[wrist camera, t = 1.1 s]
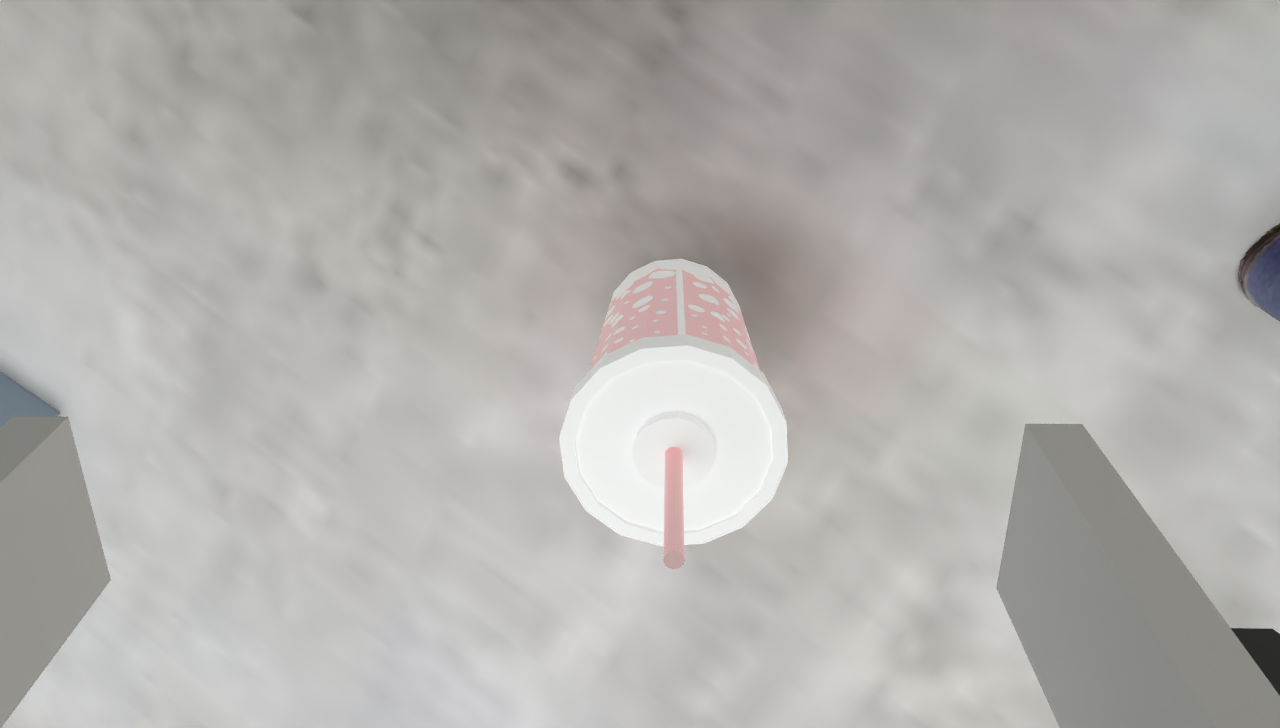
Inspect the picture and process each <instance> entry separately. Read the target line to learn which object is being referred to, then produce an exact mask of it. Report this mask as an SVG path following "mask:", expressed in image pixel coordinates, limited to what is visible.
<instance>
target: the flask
mask: <svg viewBox="0 0 1280 728" xmlns="http://www.w3.org/2000/svg"><path fill="white" fill-rule="evenodd" d="M1246 254H1247V255H1246V257H1245V258H1243V259H1242V260H1241V261H1240V270H1239V273H1238V274H1239V281H1240V283H1241V285H1242V280H1243V286H1242V288H1243V292H1244V294H1245V295H1246V297H1247V298H1248V299H1249V300H1250V301H1251V302H1252V303H1253V304H1254V305H1255V306H1257V307H1259V308H1261V309H1262V310H1264V311H1265V312H1266V313H1268V314H1269V315H1271V316H1272V317H1274V318H1275V319H1277V320H1279V321H1280V224H1279V226H1275V227H1274V228H1273V229H1271V231H1268V232H1267V234H1266V236H1263V237H1262V238H1261V240H1260V241H1259V242H1258V243H1257V244H1256V245H1254V246H1253V248H1252V249H1251V248H1250V251H1248V252H1247V253H1246Z"/></svg>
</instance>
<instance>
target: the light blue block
mask: <svg viewBox="0 0 1280 728" xmlns="http://www.w3.org/2000/svg"><path fill="white" fill-rule="evenodd" d="M59 413H60V412H59V411H57V410H56V409H54V408H53V407H51V406H50V405H48V404H47V403H45V402H44V401H42V400H41V399H39V398H38V397H37V396H35V395H34V394H32V393H31V392H29V391H28V390H26V389H25V388H23V387H22V386H20V385H19V384H17V383H16V382H14V381H13V380H11V379H10V378H8V377H7V376H6V375H4V374H3V373H1V372H0V428H1V427H2V426H3V425H4V424H5V423H6V422H7V421H8V420H10V419H11V418H12V417H57V416H58V414H59Z"/></svg>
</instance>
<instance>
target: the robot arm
mask: <svg viewBox="0 0 1280 728" xmlns="http://www.w3.org/2000/svg"><path fill="white" fill-rule="evenodd" d="M110 580H111V579H110V575H109V571H108V568H107V564H106V560H105V556H104V552H103V549H102V545H101V541H100V537H99V533H98V530H97V526H96V522H95V518H94V514H93V510H92V507H91V503H90V499H89V495H88V491H87V488H86V484H85V480H84V476H83V472H82V469H81V465H80V461H79V457H78V453H77V450H76V446H75V442H74V438H73V434H72V431H71V427H70V423H69V419H68V417H12V418H11V419H10V420H8V421H7V422H6V423H5V424H4V425H3V426H2V427H1V428H0V728H1V727H2V726H3V725H4V723H5V722H6V720H7V719H8V718H9V716H10V715H11V714H12V712H13V711H14V710H15V708H16V707H17V706H18V704H19V703H20V702H21V700H22V699H23V698H24V696H25V695H26V693H27V692H28V691H29V689H30V688H31V687H32V685H33V684H34V683H35V681H36V680H37V679H38V677H39V676H40V675H41V673H42V672H43V671H44V669H45V668H46V666H47V665H48V664H49V662H50V661H51V660H52V658H53V657H54V656H55V654H56V653H57V652H58V650H59V649H60V648H61V646H62V645H63V644H64V642H65V641H66V640H67V638H68V637H69V635H70V634H71V633H72V631H73V630H74V629H75V627H76V626H77V625H78V623H79V622H80V621H81V619H82V618H83V617H84V615H85V614H86V613H87V611H88V610H89V608H90V607H91V606H92V604H93V603H94V602H95V600H96V599H97V598H98V596H99V595H100V594H101V592H102V591H103V590H104V588H105V587H106V586H107V584H108V583H109V581H110ZM997 590H998V592H999V595H1000V597H1001V599H1002V601H1003V603H1004V606H1005V608H1006V610H1007V612H1008V614H1009V617H1010V619H1011V621H1012V623H1013V625H1014V628H1015V630H1016V632H1017V634H1018V636H1019V639H1020V641H1021V643H1022V645H1023V648H1024V650H1025V652H1026V654H1027V656H1028V659H1029V661H1030V663H1031V665H1032V667H1033V670H1034V672H1035V674H1036V676H1037V678H1038V681H1039V683H1040V685H1041V687H1042V689H1043V692H1044V694H1045V696H1046V698H1047V700H1048V703H1049V705H1050V707H1051V709H1052V712H1053V714H1054V716H1055V718H1056V720H1057V723H1058V725H1059V727H1060V728H1280V634H1279V633H1277V632H1276V631H1275V630H1273V629H1245V628H1230V627H1229V625H1228V624H1227V623H1226V621H1225V620H1224V619H1223V617H1222V616H1221V614H1220V613H1219V612H1218V610H1217V609H1216V608H1215V606H1214V605H1213V603H1212V602H1211V601H1210V599H1209V598H1208V597H1207V595H1206V594H1205V592H1204V591H1203V590H1202V588H1201V587H1200V586H1199V584H1198V583H1197V581H1196V580H1195V579H1194V577H1193V576H1192V575H1191V573H1190V572H1189V570H1188V569H1187V568H1186V566H1185V565H1184V564H1183V562H1182V561H1181V559H1180V558H1179V557H1178V555H1177V554H1176V553H1175V551H1174V550H1173V548H1172V547H1171V546H1170V544H1169V543H1168V542H1167V540H1166V539H1165V537H1164V536H1163V535H1162V533H1161V532H1160V531H1159V529H1158V528H1157V526H1156V525H1155V524H1154V522H1153V521H1152V520H1151V518H1150V517H1149V515H1148V514H1147V513H1146V511H1145V510H1144V509H1143V507H1142V506H1141V504H1140V503H1139V502H1138V500H1137V499H1136V498H1135V496H1134V495H1133V493H1132V492H1131V491H1130V489H1129V488H1128V487H1127V485H1126V484H1125V482H1124V481H1123V480H1122V478H1121V477H1120V476H1119V474H1118V473H1117V471H1116V470H1115V469H1114V467H1113V466H1112V465H1111V463H1110V462H1109V460H1108V459H1107V458H1106V456H1105V455H1104V454H1103V452H1102V451H1101V449H1100V448H1099V447H1098V445H1097V444H1096V443H1095V441H1094V440H1093V438H1092V437H1091V436H1090V434H1089V433H1088V432H1087V430H1086V429H1085V427H1084V426H1083V425H1082V424H1025V430H1024V436H1023V441H1022V447H1021V453H1020V458H1019V464H1018V470H1017V475H1016V481H1015V486H1014V492H1013V498H1012V503H1011V509H1010V515H1009V520H1008V526H1007V532H1006V537H1005V543H1004V548H1003V554H1002V560H1001V565H1000V571H999V577H998V582H997Z"/></svg>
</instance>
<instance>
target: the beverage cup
mask: <svg viewBox="0 0 1280 728" xmlns="http://www.w3.org/2000/svg"><path fill="white" fill-rule="evenodd" d="M559 441H560V448H561V455H562V463H563V470H564V477H565V479H566V480H567V482H568V483H569V485H570V487H571V488H572V490H573V491H574V493H575V494H576V496H577V498H578V499H579V501H580V502H581V504H582V505H583V507H584V509H585V510H586V511H587V512H588V513H590V514H591V515H592V516H594V517H595V518H597V519H598V520H599V521H601V522H602V523H604V524H605V525H606V526H608V527H609V528H611V529H612V530H613V531H615V532H616V533H618V534H619V535H622V536H625V537H629V538H633V539H636V540H640V541H643V542H647V543H651V544H654V545H658V546H664V563H665V565H666V566H667V567H669V568H672V569H677V568H679V567H681V566H682V565H683V564H684V561H685V558H684V545H690V544H704V543H707V542H709V541H711V540H714V539H716V538H718V537H721V536H723V535H726V534H728V533H730V532H733V531H735V530H737V529H740V528H742V527H744V526H745V525H746V524H747V523H748V522H749V521H750V520H751V519H752V518H753V517H754V516H755V515H756V514H757V513H758V512H759V511H760V510H761V509H762V508H763V507H765V506H766V505H767V504H768V503H769V502H770V501H771V500H772V499H773V497H774V494H775V492H776V489H777V487H778V485H779V482H780V480H781V478H782V475H783V473H784V471H785V468H786V466H787V463H788V450H787V425H786V418H785V416H784V414H783V410H782V407H781V405H780V404H779V402H778V400H777V398H776V396H775V394H774V392H773V390H772V388H771V386H770V385H769V383H768V381H767V379H766V377H765V375H764V373H762V372H761V371H760V368H759V365H758V362H757V359H756V356H755V353H754V350H753V347H752V344H751V341H750V337H749V334H748V331H747V328H746V325H745V322H744V319H743V316H742V313H741V310H740V307H739V304H738V302H737V300H736V299H735V297H734V295H733V293H732V291H731V289H730V287H729V285H728V283H727V282H726V281H724V280H723V279H722V278H721V277H719V276H718V275H717V274H716V273H715V272H713V271H712V270H711V269H710V268H708V267H707V266H704V265H701V264H697V263H694V262H691V261H688V260H684V259H671V260H658V261H653V262H651V263H649V264H647V265H645V266H643V267H641V268H639V269H637V270H635V271H633V272H631V273H630V274H629V275H628V276H627V277H626V279H625V280H624V281H623V282H622V283H621V284H620V285H619V286H618V288H617V289H616V290H615V291H614V293H613V296H612V299H611V302H610V306H609V309H608V312H607V315H606V318H605V321H604V324H603V328H602V331H601V334H600V337H599V340H598V344H597V347H596V350H595V353H594V356H593V359H592V363H591V366H590V369H589V372H588V373H587V374H586V375H585V376H584V377H583V379H582V380H581V381H580V382H579V383H578V384H577V385H576V386H575V388H574V391H573V394H572V397H571V400H570V404H569V407H568V410H567V413H566V416H565V419H564V422H563V426H562V429H561V432H560V436H559Z"/></svg>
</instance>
